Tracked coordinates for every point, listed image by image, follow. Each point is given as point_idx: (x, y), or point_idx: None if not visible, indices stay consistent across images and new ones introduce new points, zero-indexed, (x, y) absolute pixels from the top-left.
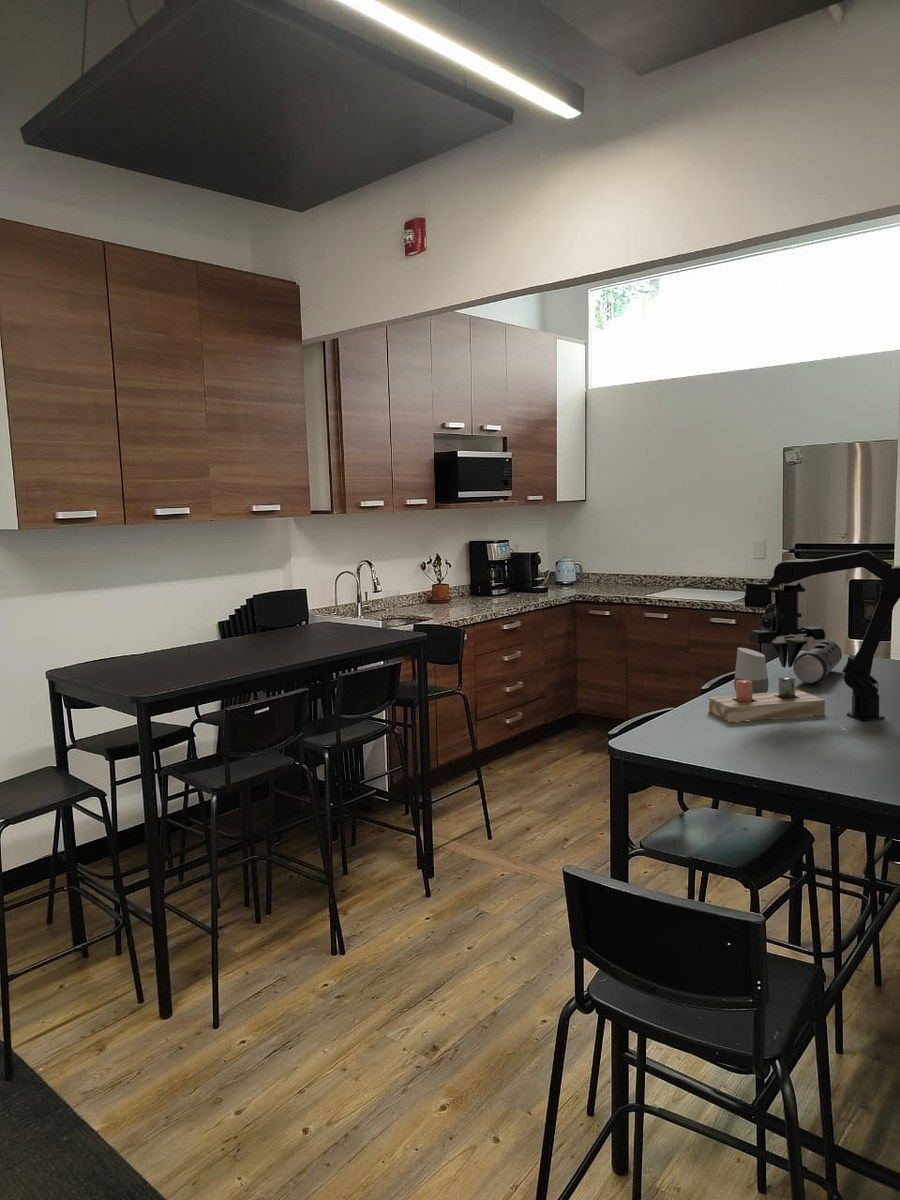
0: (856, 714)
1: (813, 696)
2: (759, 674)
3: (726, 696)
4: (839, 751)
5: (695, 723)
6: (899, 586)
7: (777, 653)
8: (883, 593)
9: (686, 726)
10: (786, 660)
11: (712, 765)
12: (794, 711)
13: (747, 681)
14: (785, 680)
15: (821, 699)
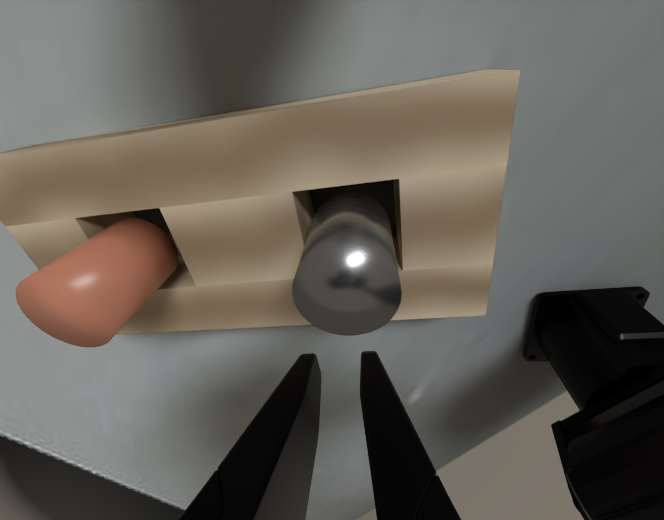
0: (540, 340)
1: (482, 252)
2: None
3: (43, 164)
4: (323, 474)
5: None
6: None
7: (203, 498)
8: None
9: (8, 306)
10: (309, 465)
11: (114, 475)
12: None
13: (85, 315)
14: (319, 324)
15: (475, 308)
